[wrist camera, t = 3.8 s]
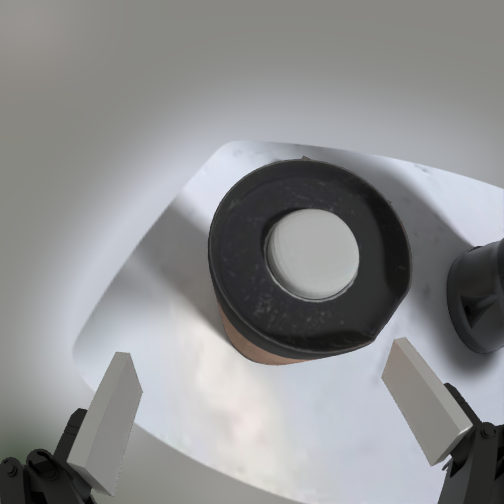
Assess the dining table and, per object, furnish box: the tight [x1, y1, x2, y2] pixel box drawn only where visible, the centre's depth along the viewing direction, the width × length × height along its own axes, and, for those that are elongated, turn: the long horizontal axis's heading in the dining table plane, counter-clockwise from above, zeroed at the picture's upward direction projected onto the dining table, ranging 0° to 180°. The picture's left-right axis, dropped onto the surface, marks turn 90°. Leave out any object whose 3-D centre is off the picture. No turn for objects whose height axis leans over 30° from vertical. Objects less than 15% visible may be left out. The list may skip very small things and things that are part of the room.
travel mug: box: [208, 159, 412, 365], centre depth 18 cm, size 8×8×20 cm
